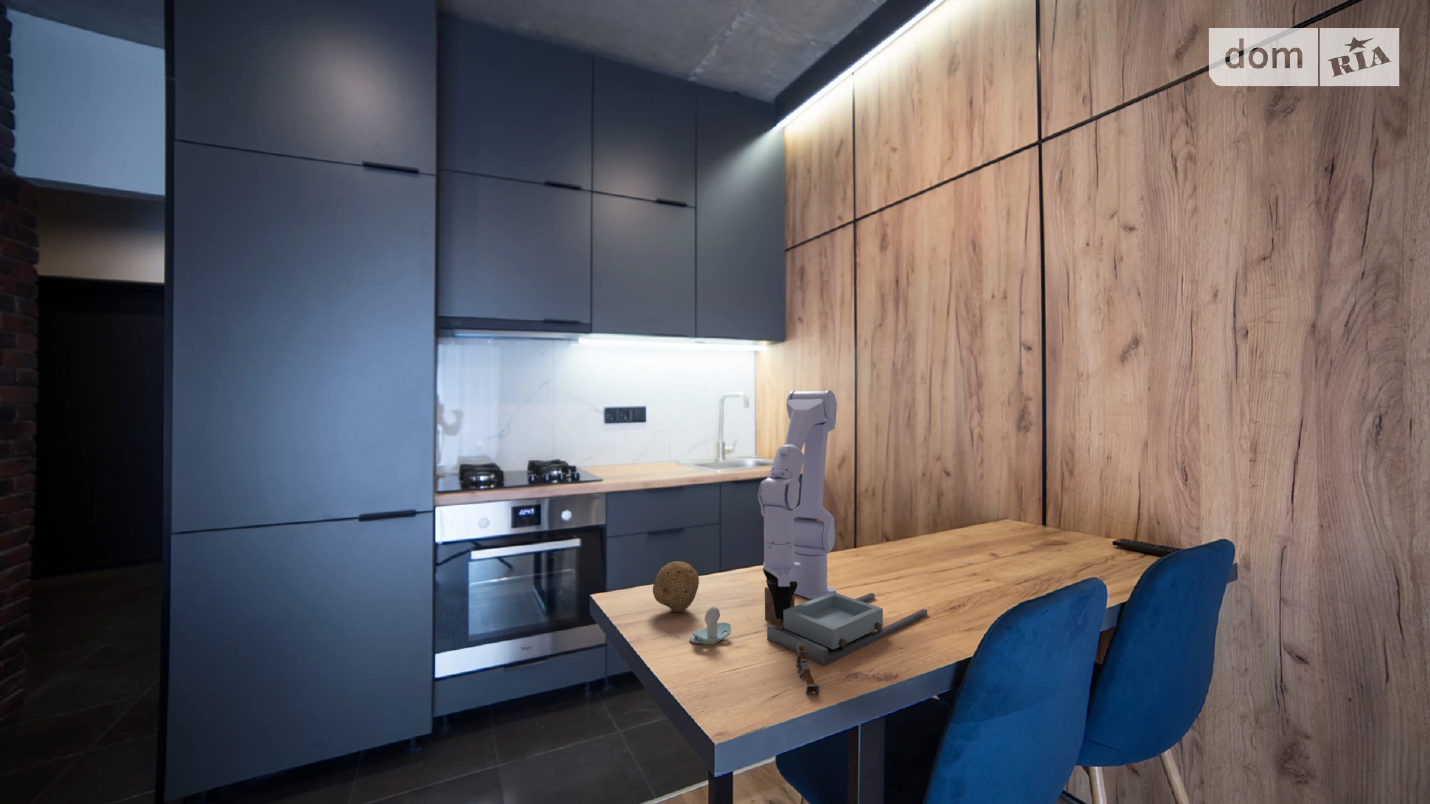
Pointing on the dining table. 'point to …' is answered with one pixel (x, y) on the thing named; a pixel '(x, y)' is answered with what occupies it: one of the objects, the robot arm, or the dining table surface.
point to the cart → (833, 619)
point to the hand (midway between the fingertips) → (779, 611)
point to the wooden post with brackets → (805, 670)
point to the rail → (821, 653)
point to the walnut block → (770, 607)
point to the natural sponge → (676, 585)
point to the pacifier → (711, 629)
